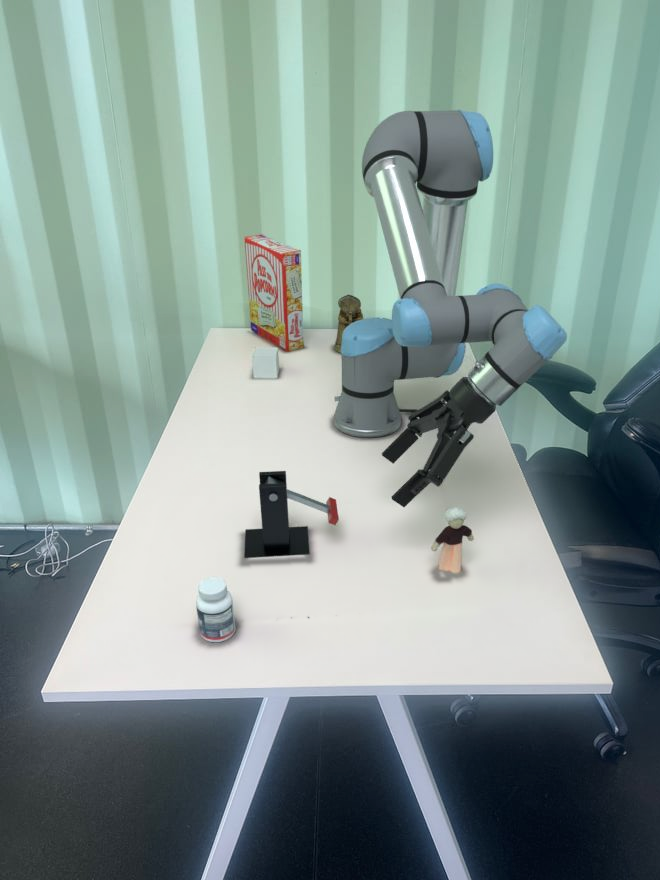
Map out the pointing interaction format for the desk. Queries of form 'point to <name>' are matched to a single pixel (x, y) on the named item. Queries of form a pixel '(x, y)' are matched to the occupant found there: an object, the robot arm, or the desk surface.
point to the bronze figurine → (347, 316)
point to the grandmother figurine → (452, 540)
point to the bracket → (275, 523)
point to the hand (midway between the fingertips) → (392, 479)
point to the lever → (312, 502)
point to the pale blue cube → (265, 362)
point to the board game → (275, 291)
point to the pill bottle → (215, 610)
